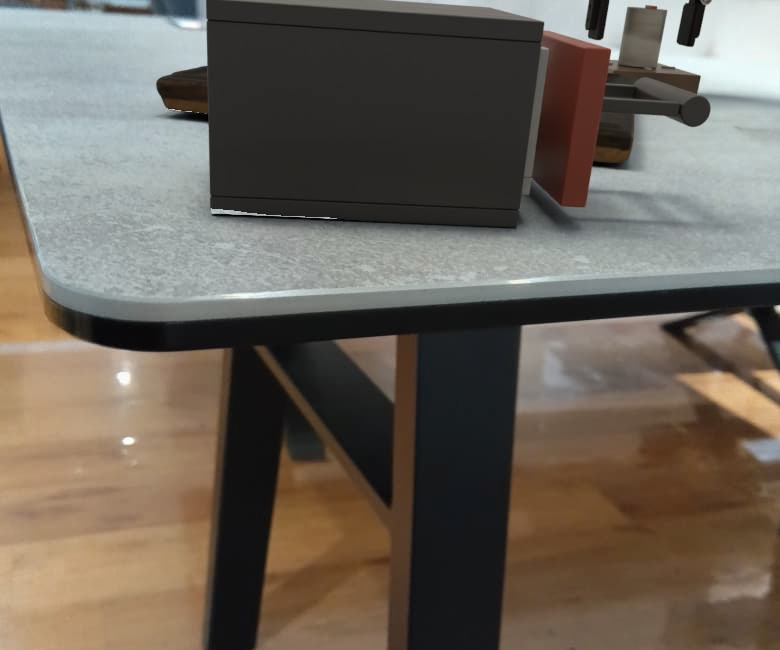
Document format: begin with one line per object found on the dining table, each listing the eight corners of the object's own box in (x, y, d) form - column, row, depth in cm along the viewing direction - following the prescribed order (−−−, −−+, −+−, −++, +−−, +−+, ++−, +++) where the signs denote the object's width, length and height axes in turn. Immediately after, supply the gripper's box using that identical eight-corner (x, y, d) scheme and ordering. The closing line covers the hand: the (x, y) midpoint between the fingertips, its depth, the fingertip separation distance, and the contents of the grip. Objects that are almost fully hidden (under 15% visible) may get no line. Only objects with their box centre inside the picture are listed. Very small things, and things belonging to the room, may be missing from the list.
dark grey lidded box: (472, 172, 50) (490, 7, 46) (517, 228, 40) (545, 21, 36) (229, 160, 49) (227, -12, 45) (210, 214, 38) (205, -3, 34)
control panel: (653, 86, 99) (657, 61, 98) (695, 101, 88) (701, 73, 87) (575, 81, 98) (579, 56, 97) (609, 96, 87) (613, 68, 86)
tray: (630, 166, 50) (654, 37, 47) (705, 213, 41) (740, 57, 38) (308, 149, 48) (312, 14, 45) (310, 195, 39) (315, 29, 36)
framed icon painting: (696, 175, 53) (707, 126, 52) (135, 124, 56) (132, 77, 55) (623, 96, 88) (628, 66, 86) (276, 67, 90) (276, 37, 89)
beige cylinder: (612, 62, 94) (622, 2, 91) (648, 64, 94) (659, 5, 92) (624, 66, 90) (635, 4, 88) (662, 68, 91) (674, 7, 88)
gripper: (599, -164, 80) (568, 39, 87) (780, -146, 81) (735, 51, 89) (576, -155, 86) (549, 33, 94) (744, -139, 88) (704, 44, 96)
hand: (640, 42), depth 91 cm, fingers open, 9 cm apart
